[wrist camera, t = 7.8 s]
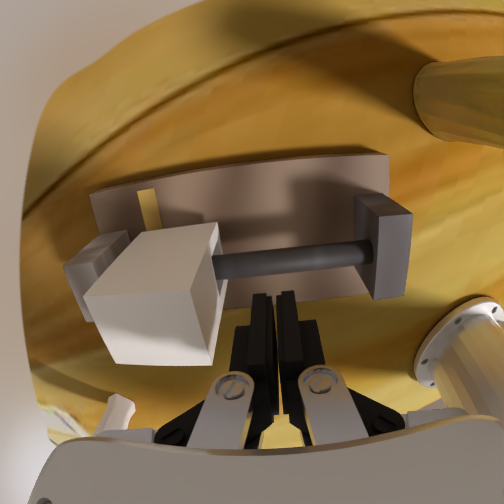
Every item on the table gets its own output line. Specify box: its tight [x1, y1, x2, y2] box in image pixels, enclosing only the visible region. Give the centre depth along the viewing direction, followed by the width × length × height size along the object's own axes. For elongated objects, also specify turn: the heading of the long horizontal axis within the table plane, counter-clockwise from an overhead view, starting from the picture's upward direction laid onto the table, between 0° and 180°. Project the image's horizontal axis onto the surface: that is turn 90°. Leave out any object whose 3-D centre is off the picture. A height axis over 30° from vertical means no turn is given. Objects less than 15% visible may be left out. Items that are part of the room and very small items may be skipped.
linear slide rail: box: [62, 152, 413, 322], centre depth 17 cm, size 20×10×6 cm, turn 97°
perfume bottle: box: [92, 393, 136, 437], centre depth 23 cm, size 5×4×15 cm
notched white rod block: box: [83, 222, 228, 366], centre depth 15 cm, size 5×4×8 cm
